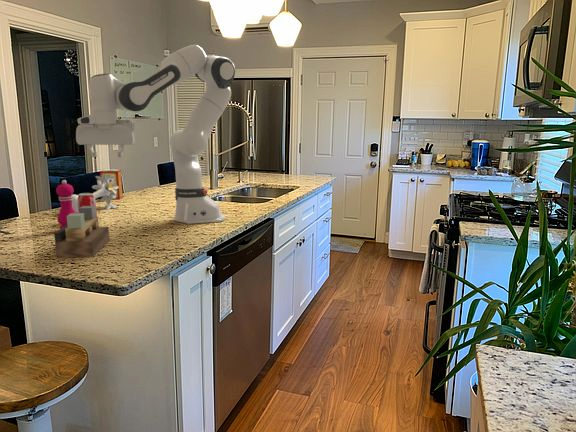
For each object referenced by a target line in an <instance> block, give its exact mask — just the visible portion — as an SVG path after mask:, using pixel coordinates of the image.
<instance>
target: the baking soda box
mask: <svg viewBox="0 0 576 432" xmlns="http://www.w3.org/2000/svg"><path fill="white" fill-rule="evenodd" d="M103 174H106V177H108V176H112V177H111V178H109V179H108V180H109V181H110V182H111V181H112V179H114V180H115V183H114V185H117V186H118V187H119V188H118V189H115V190H117V193H116V194H114V195H113V196H115V197H116V198H115V199H112V200H115V201H116V200H117V201H118V200H121V199H123V198H124V195H123V194H124V193H123V181H122V180H123V179H122V170H121V169H102V170H99V177H101V178H102V175H103ZM101 183H102V184H103V183H104V182H102V181H101ZM105 183H106V181H105ZM106 191H107V192H108V190H106ZM112 192H113V191H112ZM102 198H103V197H101V199H102ZM112 200H111V199H110V201H112Z"/></svg>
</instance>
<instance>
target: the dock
mask: <svg viewBox="0 0 576 432" xmlns="http://www.w3.org/2000/svg"><path fill="white" fill-rule="evenodd" d="M67 227H68V224H67V225H66V226H64V227H63V228H61V229H60V228H59V230H57V231H54V234H53V235H54V242H55V245H54V246H55V253H56V254H55V255H56V258H83V257H84V258H86V257H87V258H88V257H89V258H90V257H94V256H95V255H96V254H98V252H99V251H101V249H102V248H103V247H104V246H105V245H106V244H107V243H108V242H109V241H110V231H109V230H110V229H109V228H110V227H109V226H99V228H98V229H95V230H93V233H92V234H90V235H86V239H85V240H83V241H66V232H65V229H66V228H67Z"/></svg>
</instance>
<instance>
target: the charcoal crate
mask: <svg viewBox="0 0 576 432" xmlns="http://www.w3.org/2000/svg"><path fill="white" fill-rule="evenodd" d="M79 210H80V213H84V219H85V220H86V219H94V218H95V217H96V212H95V206H82V207H81V208H79Z"/></svg>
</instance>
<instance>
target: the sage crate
mask: <svg viewBox="0 0 576 432" xmlns="http://www.w3.org/2000/svg"><path fill="white" fill-rule="evenodd" d="M67 224H68V228H82V227H83V226H85V219H84V213H74V214H69V215H68V216H67Z"/></svg>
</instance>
